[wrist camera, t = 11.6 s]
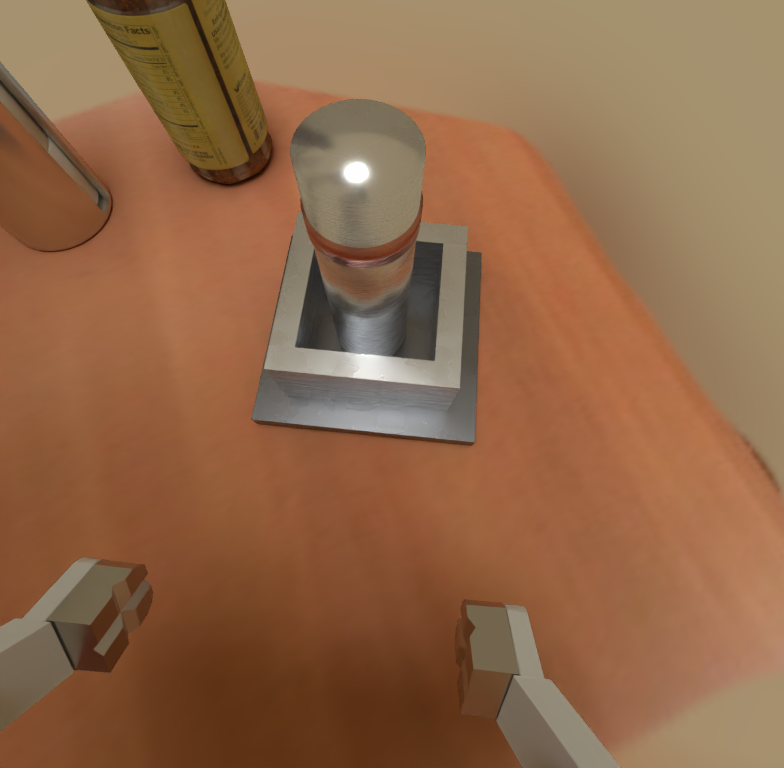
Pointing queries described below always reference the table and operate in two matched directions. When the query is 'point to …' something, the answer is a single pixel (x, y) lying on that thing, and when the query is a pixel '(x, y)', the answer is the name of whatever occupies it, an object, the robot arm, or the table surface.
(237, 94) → the sauce bottle
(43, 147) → the silver piece
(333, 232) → the cylinder
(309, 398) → the collar
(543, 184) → the table surface
